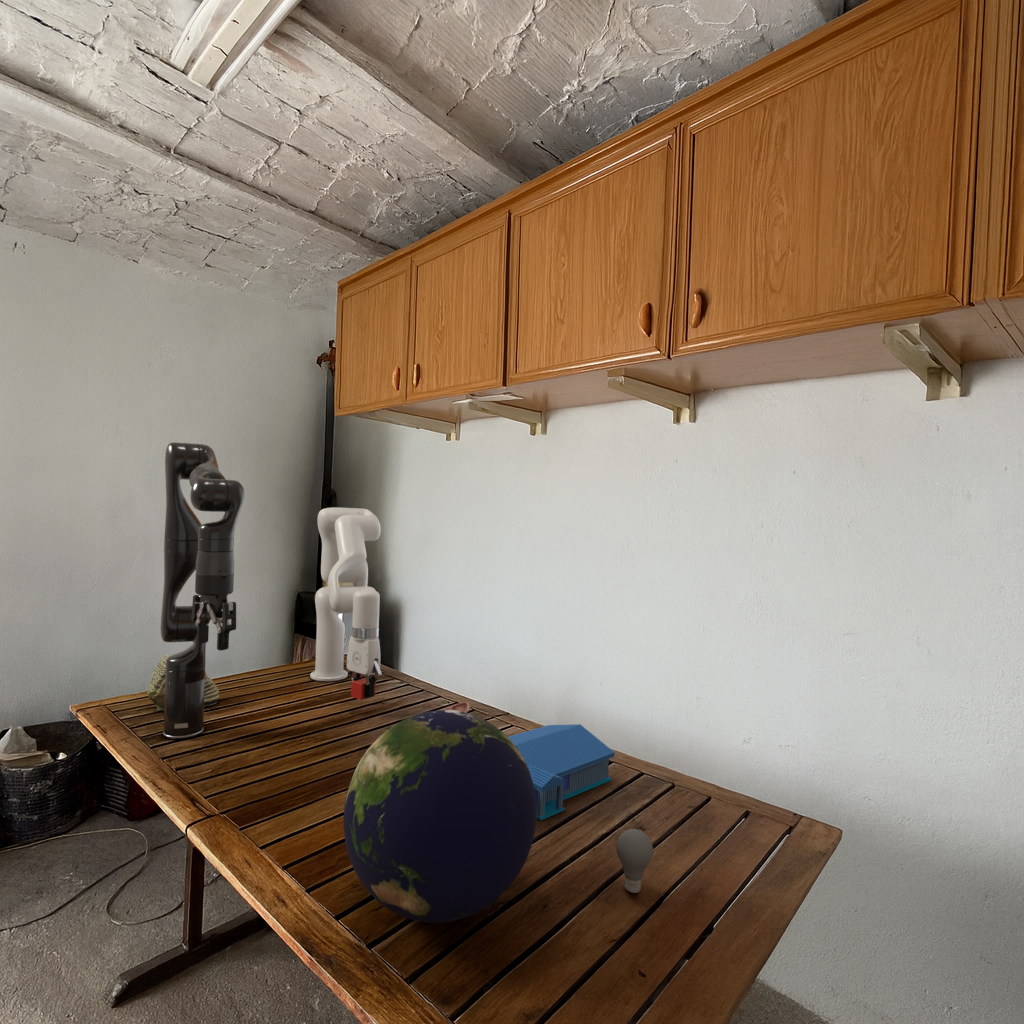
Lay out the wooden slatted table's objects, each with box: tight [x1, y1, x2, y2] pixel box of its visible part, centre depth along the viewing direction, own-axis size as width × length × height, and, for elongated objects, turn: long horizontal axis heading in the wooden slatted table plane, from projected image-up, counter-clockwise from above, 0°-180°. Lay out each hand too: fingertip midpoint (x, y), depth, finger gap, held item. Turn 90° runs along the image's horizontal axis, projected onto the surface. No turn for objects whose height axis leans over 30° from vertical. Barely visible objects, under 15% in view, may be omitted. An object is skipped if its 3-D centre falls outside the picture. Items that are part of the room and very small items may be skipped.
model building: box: [507, 723, 615, 821], centre depth 141 cm, size 39×24×10 cm, turn 132°
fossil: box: [147, 654, 221, 712], centre depth 185 cm, size 9×18×15 cm, turn 132°
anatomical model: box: [436, 701, 470, 713], centre depth 184 cm, size 13×4×12 cm
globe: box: [343, 709, 537, 924], centre depth 100 cm, size 30×30×30 cm
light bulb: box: [615, 828, 654, 894], centre depth 106 cm, size 6×6×10 cm
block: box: [350, 677, 376, 701], centre depth 185 cm, size 4×5×4 cm
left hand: (212, 646), depth 137 cm, fingers open, 8 cm apart
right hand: (363, 694), depth 185 cm, fingers closed on block, 4 cm apart
